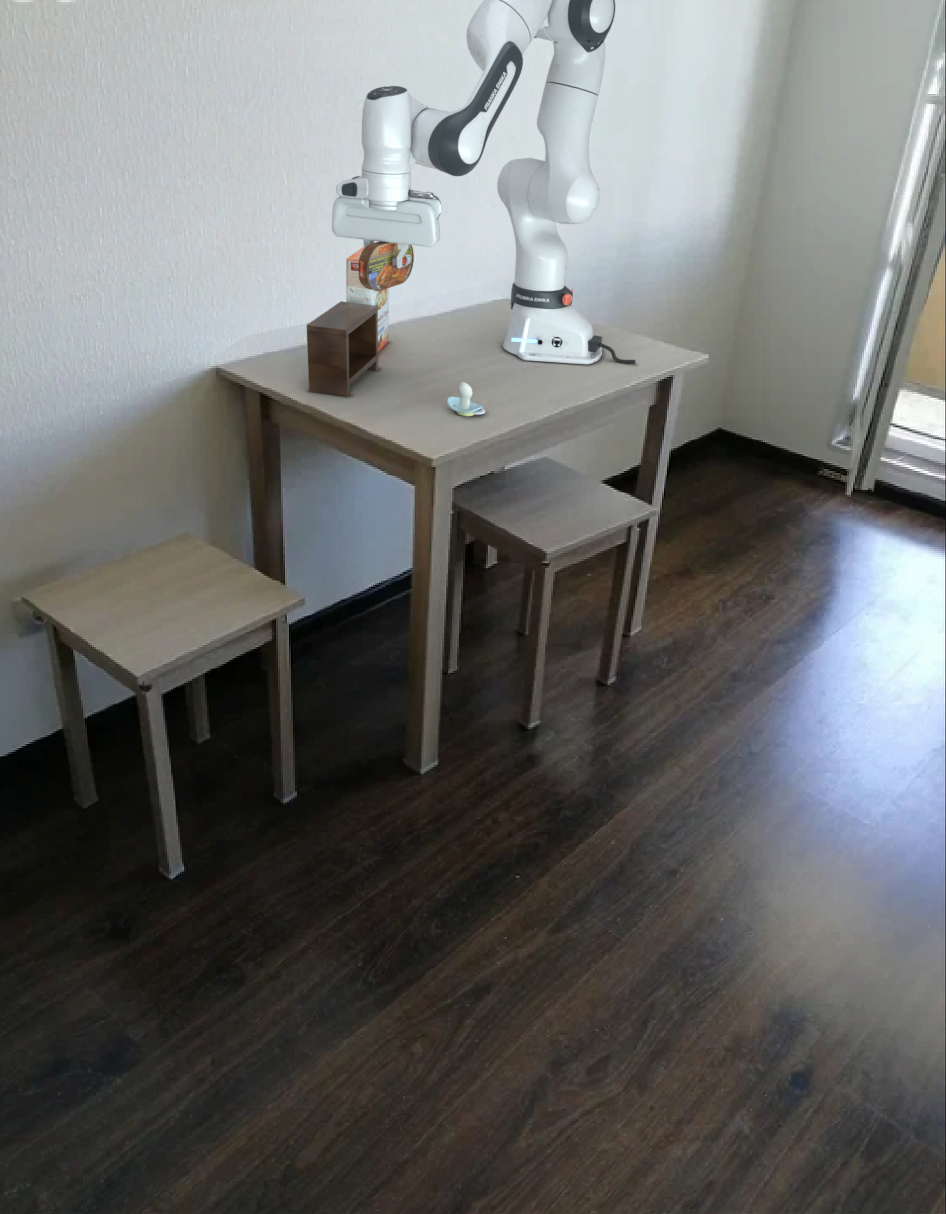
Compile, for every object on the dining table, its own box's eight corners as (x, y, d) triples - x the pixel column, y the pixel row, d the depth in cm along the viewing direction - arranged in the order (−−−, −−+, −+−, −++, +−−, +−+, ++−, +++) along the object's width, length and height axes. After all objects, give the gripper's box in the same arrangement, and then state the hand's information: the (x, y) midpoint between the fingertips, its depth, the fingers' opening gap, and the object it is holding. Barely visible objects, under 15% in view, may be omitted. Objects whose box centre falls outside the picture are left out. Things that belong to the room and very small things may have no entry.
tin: (367, 295, 182) (370, 248, 177) (353, 290, 183) (356, 244, 178) (413, 280, 193) (417, 236, 188) (400, 276, 194) (403, 232, 190)
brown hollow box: (378, 368, 207) (377, 305, 200) (347, 397, 192) (346, 329, 185) (342, 364, 208) (340, 301, 201) (309, 391, 194) (306, 324, 187)
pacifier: (462, 404, 192) (442, 411, 188) (464, 372, 189) (444, 379, 185) (492, 414, 189) (473, 421, 184) (494, 382, 186) (475, 389, 181)
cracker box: (372, 361, 211) (372, 260, 200) (345, 358, 212) (343, 257, 201) (390, 342, 223) (391, 246, 211) (364, 339, 223) (364, 243, 212)
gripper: (446, 190, 179) (443, 268, 187) (340, 179, 183) (341, 256, 190) (436, 195, 174) (433, 276, 181) (327, 184, 178) (329, 263, 185)
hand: (385, 266), depth 186 cm, fingers closed on tin, 3 cm apart
